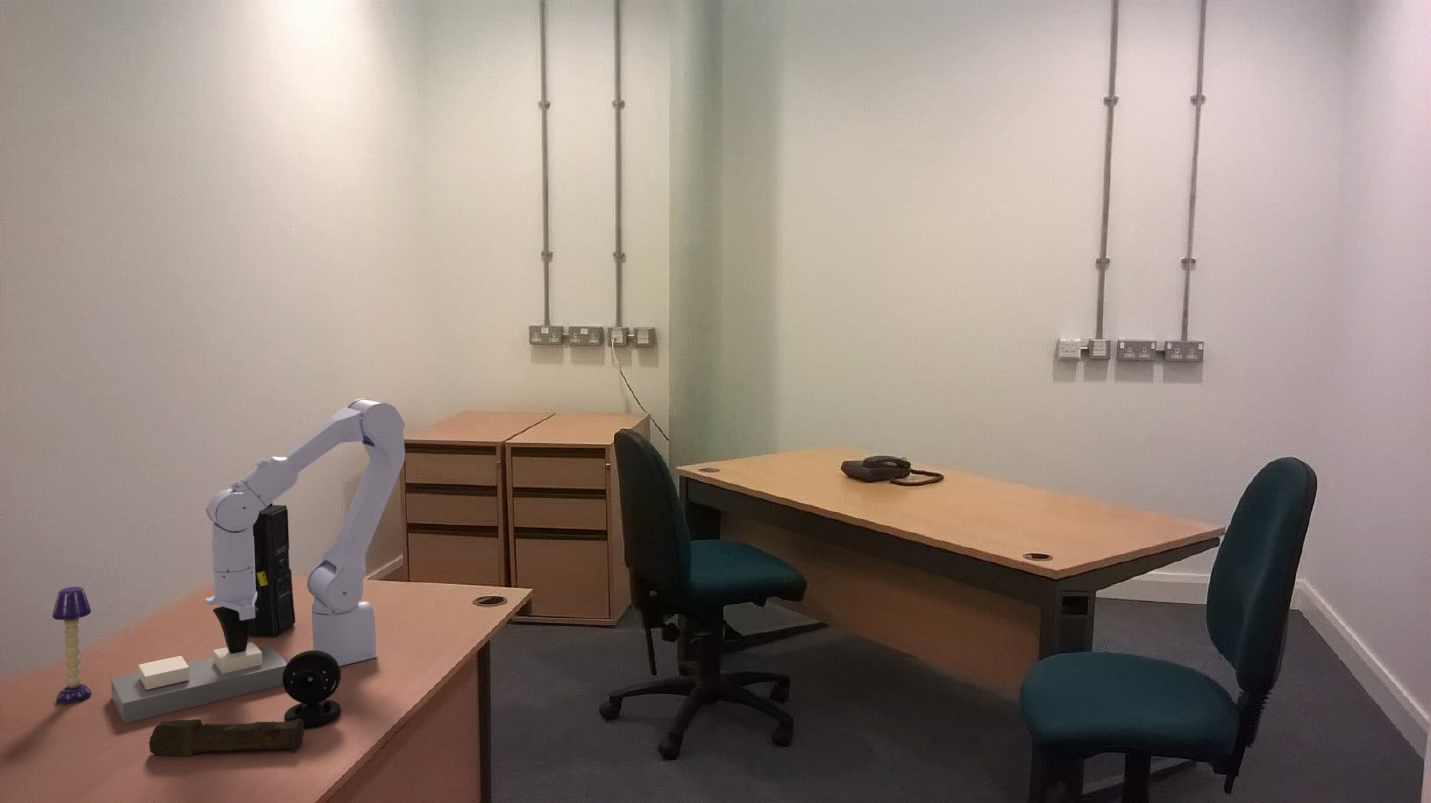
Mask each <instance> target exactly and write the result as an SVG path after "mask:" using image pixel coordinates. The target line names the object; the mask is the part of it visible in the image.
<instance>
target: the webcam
mask: <svg viewBox="0 0 1431 803" xmlns="http://www.w3.org/2000/svg"><path fill="white" fill-rule="evenodd" d="M341 678H342V672H341V666H339V665H338V663H337V661H336V659H334V658H333V657H332V656H331V655H330V654H328V653H325V652H322V651H319V650H313V649H311V650H306V651H302V652H299V653H298V654H296V655H294V656H292V658H291V659H289V661H288V662H287V665H286V666H285V669H284V671H283V677H282V682H283V685H282V686H283V688H284V690H285V693H286V694H287V695H288V696H289V697H290V699H293V700H294V701H296V702H297V704H295V705H293V706H291V707H290V708H288V709H287V710H286V711H285V713H284V716H283V720H284V721H283V722H287V721H293V720H296V719H301V720H303V723H304V730H308V729H310V730H311V729H316V728H319V727H322V726H325V725H327V724H330V723H333V722H334V721H335V720H337V718H339V716H340V715H341V712H342V706H341V704H340V703H339V702H337V701H334V700H332V699H329V698H331V697H332V695H333V694H335V692H336V691H337V689H338V688H339V685H340V682H341ZM322 710H326V711H328V712H326V713H324V714H323V713H322Z"/></svg>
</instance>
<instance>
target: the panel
mask: <svg viewBox="0 0 1431 803" xmlns="http://www.w3.org/2000/svg"><path fill="white" fill-rule="evenodd" d="M257 648H258V649H259V650H260V651H261V652H262V665H258V666H254V667H249V668H245V669H241V670H236V671H232V672H228V673H223V674H222V672H221V671H220V670H219V668H218V667H217V666H216V665H215V663H214V655H213V656H208V657H205V658H200V659H196V660H190V661H185V662H186V663H187V665H188V666H189V674H190V680H187V681H183V682H178V683H175V684H172V685H167V686H163V687H158V688H152V689H147V690H146V689H145V687H144V685H143V684H142V682H141V680H140V678H139V672H134V673H130V674H125V675H121V676H116V677H111V678H110V684H111V686H110V688H111V699H112V698H113V699H112V701H113V700H114V701H113V702H115V703H114V705H115V707H117V708H116V710H117V709H118V710H117V712H118V711H119V712H118V714H119V713H120V714H119V716H120V718H121V721H122V720H123V721H122V723H123V722H124V723H125V724H130V723H134V722H138V721H141V720H146V719H149V718H153V717H154V718H155V717H157V715H158V716H162V715H166V714H170V713H174V712H178V711H182V710H187V709H191V708H194V707H199V706H203V705H206V704H212V703H214V702H218V701H223V700H228V699H231V698H236V697H239V696H243V695H248V694H251V693H256V692H261V691H263V690H268V689H272V688H276V687H281V686H283V682H282V677H283V671H284V669H285V666H286V665H287V663H288V662H287V661H286V659H284V658H283V657H282V656H281V655H280V654H279V653H278V652H277V651H276V650H275V649H274V647H273V646H272V645H270V644H263V645H259V646H257ZM124 723H123V724H124ZM125 724H124V725H125Z"/></svg>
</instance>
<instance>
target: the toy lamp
mask: <svg viewBox="0 0 1431 803" xmlns="http://www.w3.org/2000/svg"><path fill="white" fill-rule="evenodd" d="M54 604H55V605H54V608H53V610H52V611H53V612H52V618H53V619H54V620H57V621H63V624H64V626H65V628H64V636H65V638H64V644H65V650H64V654H65V656H66V659H65V666H66V670H65V673H66V674H65V675H66V677H67V678H66V680H65V681H66V683H65V684H66V686H65V687H63V688H61V690H60V691H59V692H58V694H57V696H56V703H58V702H59V704H65V703H66V704H72V703H71V702H74V703H76V702H75V701H78V702H81V701H80V700H82V699H85V698H87V699H89V698H90V697H91V696H92V691H91V689H90V688H89V686H87V685H85V684H83V683H81V682H82V677H81V676H80V675H81V672H82V671H81V670H82V669H81V667H80V666H81V665H80V663H81V657H80V652H81V648H80V645H79V644H80V636H79V634H80V627H79V622H80V619H81V618H84V617H86V616H88V615H90V614H91V612H92V609H91V606H90V602H89V601H88V597H87V595H86V592H85V590H84V588H83V587H81V586H70V587H65V588H62V589H60V590H59V591H58V593H57V596H56V600H55V603H54ZM88 697H89V698H88ZM85 700H86V699H85ZM82 701H83V700H82Z"/></svg>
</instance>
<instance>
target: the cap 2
mask: <svg viewBox="0 0 1431 803" xmlns="http://www.w3.org/2000/svg"><path fill="white" fill-rule="evenodd" d="M257 647H258V646H257V645H255V643H254V642H253V641H251V642H249V641H248V643H247V648H246V651H243V652H239V653H234V654H231V653H230V652H229V650H228V648H227V646H226V647H221V648H217V649H212V652H213V654H212V655H213V656H214V663H215V665H216V666H217V667H218V668H219V670H220V671H221V672H222V674H223V673H228V672H232V671H236V670H241V669H245V668H249V667H254V666H258V665H262V652H261V651H260V650H259V649H258V648H257Z"/></svg>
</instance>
